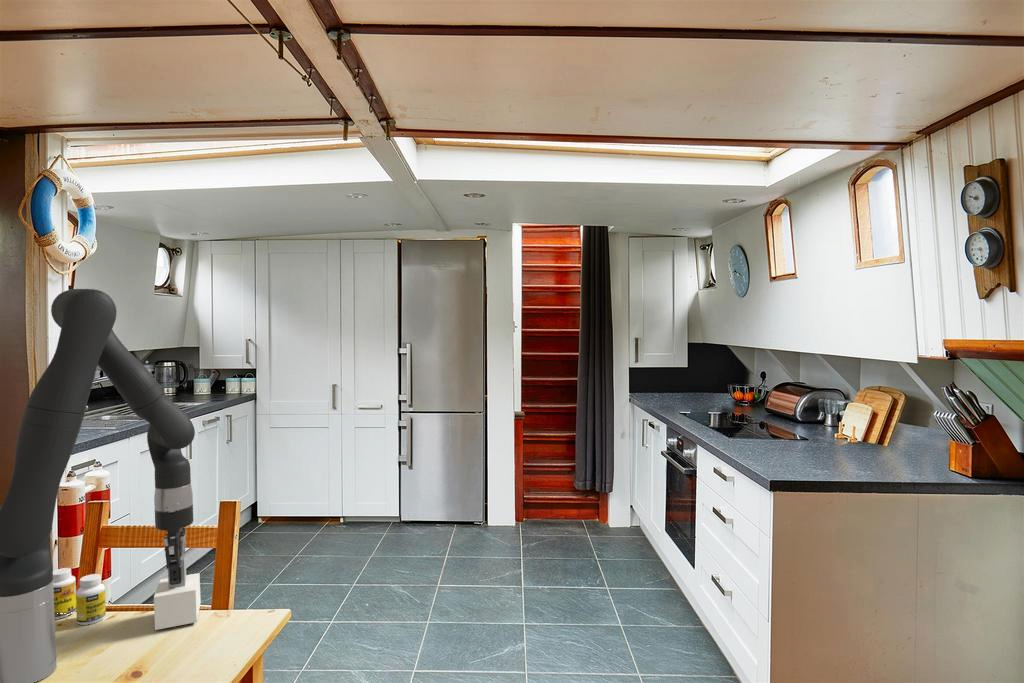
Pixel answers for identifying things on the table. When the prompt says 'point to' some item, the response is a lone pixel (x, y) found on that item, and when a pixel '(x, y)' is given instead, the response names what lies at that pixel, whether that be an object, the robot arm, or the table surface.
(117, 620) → the table surface
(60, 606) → the supplement bottle
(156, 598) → the white block
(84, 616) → the supplement bottle
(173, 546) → the robot arm
